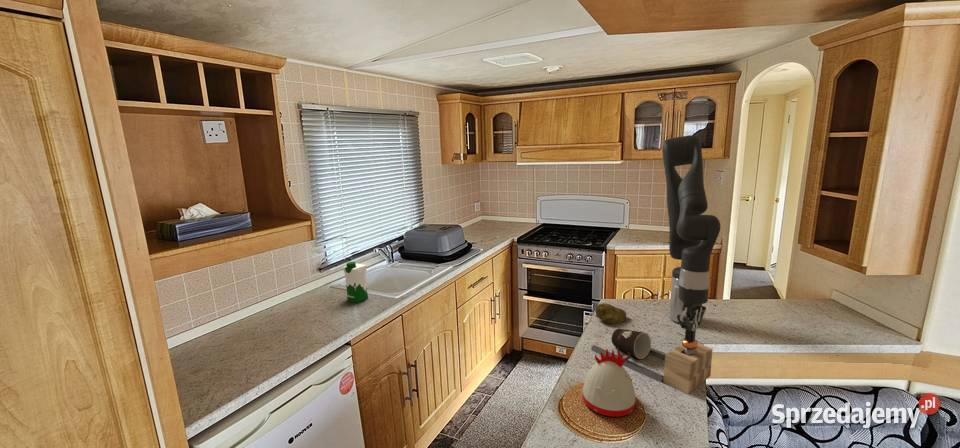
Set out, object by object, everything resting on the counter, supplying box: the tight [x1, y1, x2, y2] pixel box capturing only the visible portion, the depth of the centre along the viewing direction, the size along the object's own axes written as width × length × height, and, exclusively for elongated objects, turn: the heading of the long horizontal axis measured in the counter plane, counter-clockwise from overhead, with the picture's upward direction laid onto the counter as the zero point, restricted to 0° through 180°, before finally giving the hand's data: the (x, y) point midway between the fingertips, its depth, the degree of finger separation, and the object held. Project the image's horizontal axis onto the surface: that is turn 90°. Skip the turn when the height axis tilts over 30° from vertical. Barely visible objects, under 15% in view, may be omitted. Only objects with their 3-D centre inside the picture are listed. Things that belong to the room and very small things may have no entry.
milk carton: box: [342, 261, 369, 304], centre depth 185 cm, size 9×9×20 cm
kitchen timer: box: [582, 348, 636, 417], centre depth 107 cm, size 14×14×15 cm
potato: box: [594, 302, 627, 324], centre depth 156 cm, size 8×13×8 cm, turn 87°
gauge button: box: [681, 337, 698, 356], centre depth 116 cm, size 4×4×10 cm
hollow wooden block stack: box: [663, 343, 714, 395], centre depth 116 cm, size 14×7×9 cm, turn 127°
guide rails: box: [590, 344, 667, 383], centre depth 130 cm, size 14×25×2 cm, turn 37°
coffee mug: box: [611, 328, 652, 360], centre depth 132 cm, size 12×9×10 cm
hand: (689, 340), depth 115 cm, fingers closed
